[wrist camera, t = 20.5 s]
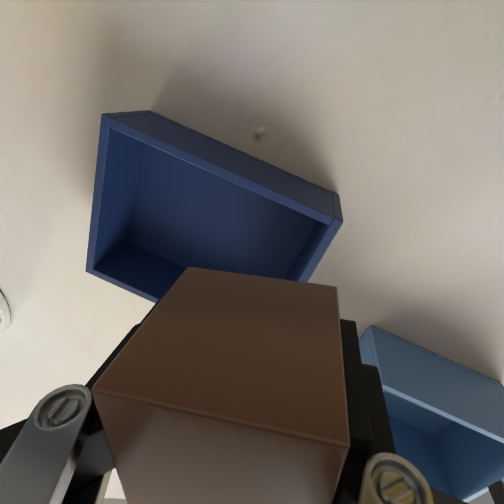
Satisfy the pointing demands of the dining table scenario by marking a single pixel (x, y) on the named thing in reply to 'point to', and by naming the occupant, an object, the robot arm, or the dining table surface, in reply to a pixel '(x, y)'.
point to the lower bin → (197, 209)
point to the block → (230, 394)
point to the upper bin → (441, 418)
